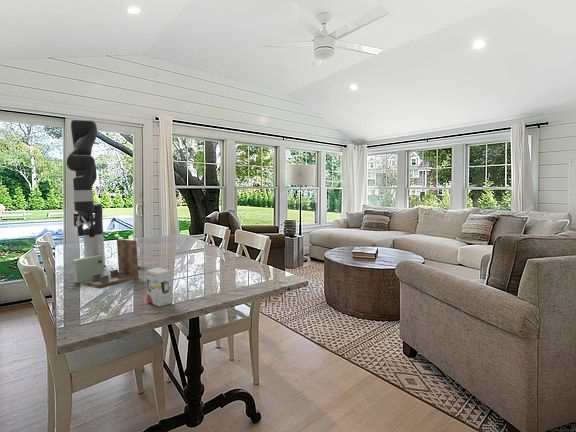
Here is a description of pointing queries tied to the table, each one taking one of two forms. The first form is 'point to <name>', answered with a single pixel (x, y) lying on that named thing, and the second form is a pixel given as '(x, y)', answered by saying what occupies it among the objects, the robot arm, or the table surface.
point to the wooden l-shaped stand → (125, 263)
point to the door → (87, 268)
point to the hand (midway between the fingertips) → (86, 236)
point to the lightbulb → (138, 251)
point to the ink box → (159, 286)
